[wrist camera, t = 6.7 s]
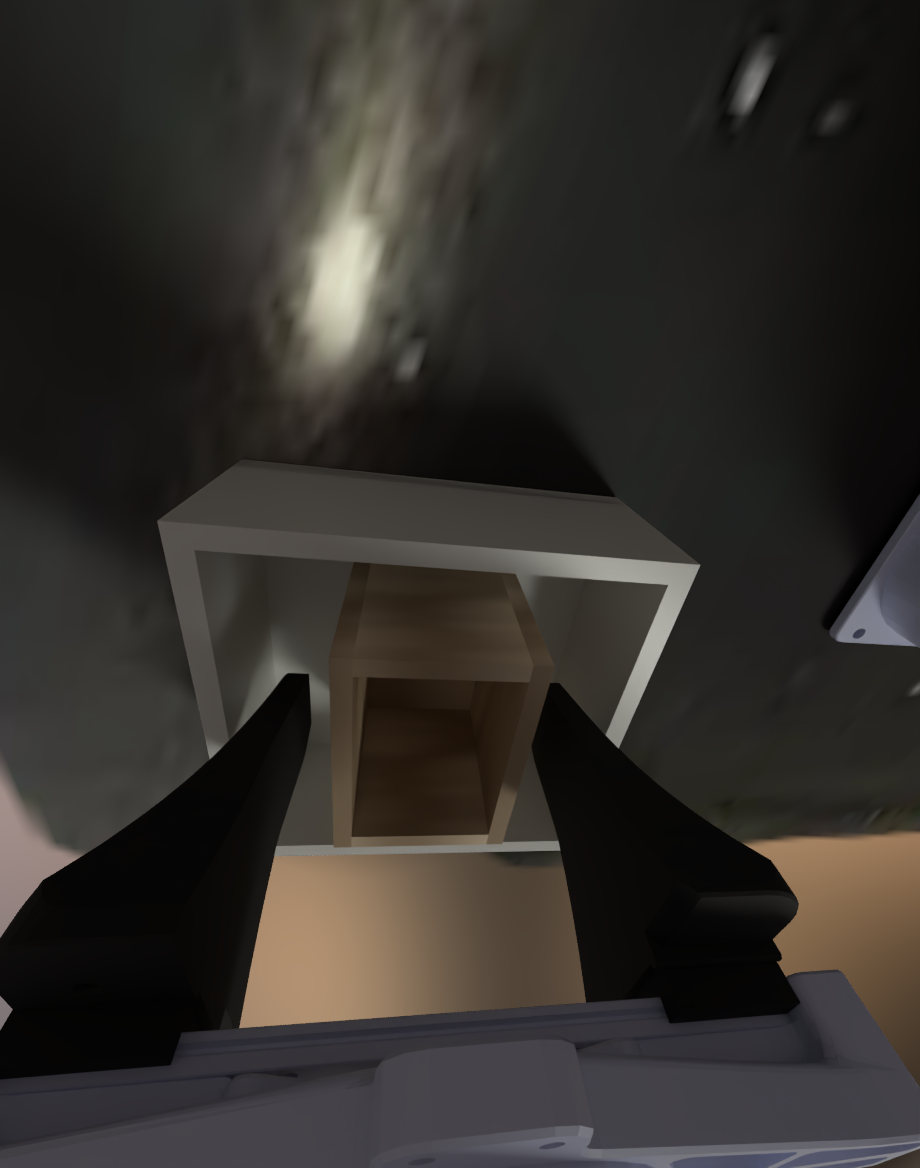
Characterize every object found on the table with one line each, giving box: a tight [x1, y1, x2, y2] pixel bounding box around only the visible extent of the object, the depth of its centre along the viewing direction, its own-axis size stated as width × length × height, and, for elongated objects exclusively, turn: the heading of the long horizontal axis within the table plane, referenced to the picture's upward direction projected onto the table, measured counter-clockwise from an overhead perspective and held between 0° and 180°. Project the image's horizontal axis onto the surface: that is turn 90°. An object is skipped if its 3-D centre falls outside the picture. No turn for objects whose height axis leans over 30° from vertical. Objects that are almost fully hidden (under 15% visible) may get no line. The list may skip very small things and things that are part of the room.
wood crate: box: [329, 562, 555, 848], centre depth 14 cm, size 5×7×6 cm
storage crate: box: [157, 459, 700, 856], centre depth 15 cm, size 12×12×5 cm
